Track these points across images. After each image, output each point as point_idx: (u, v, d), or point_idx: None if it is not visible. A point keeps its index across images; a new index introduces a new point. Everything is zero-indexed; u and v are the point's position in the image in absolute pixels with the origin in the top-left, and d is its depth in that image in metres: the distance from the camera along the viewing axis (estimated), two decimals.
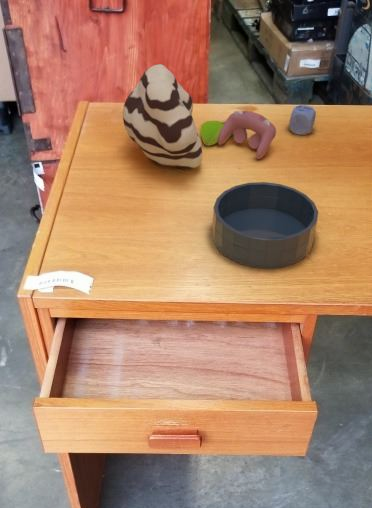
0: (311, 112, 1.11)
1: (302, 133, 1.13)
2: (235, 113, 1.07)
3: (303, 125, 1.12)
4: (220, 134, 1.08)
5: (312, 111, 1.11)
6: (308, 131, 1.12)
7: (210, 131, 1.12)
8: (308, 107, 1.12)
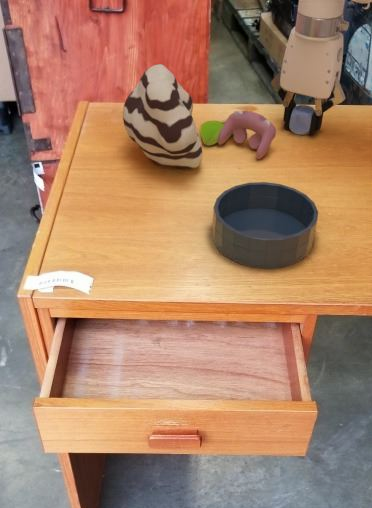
0: (311, 112, 1.11)
1: (302, 133, 1.13)
2: (235, 113, 1.07)
3: (303, 125, 1.12)
4: (220, 134, 1.08)
5: (312, 111, 1.11)
6: (308, 131, 1.12)
7: (210, 131, 1.12)
8: (308, 107, 1.12)
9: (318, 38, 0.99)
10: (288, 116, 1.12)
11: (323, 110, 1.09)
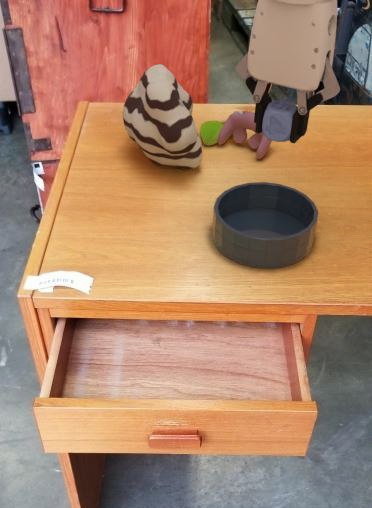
0: (292, 110, 0.78)
1: (279, 140, 0.80)
2: (235, 113, 1.07)
3: (281, 128, 0.79)
4: (220, 134, 1.08)
5: (294, 109, 0.79)
6: (288, 137, 0.80)
7: (210, 131, 1.12)
8: (288, 103, 0.80)
9: (299, 0, 0.67)
10: (260, 116, 0.80)
11: (309, 107, 0.76)
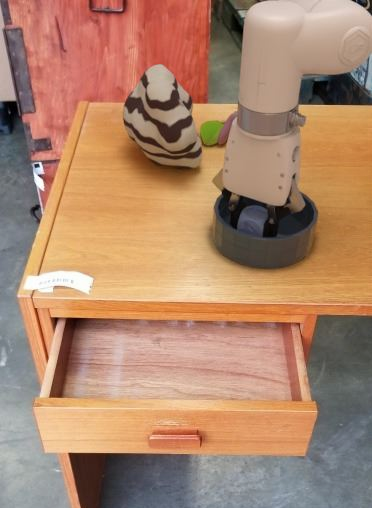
0: (264, 217, 0.86)
1: None
2: (235, 113, 1.07)
3: (254, 232, 0.87)
4: (220, 134, 1.08)
5: (265, 215, 0.86)
6: None
7: (210, 131, 1.12)
8: (261, 209, 0.87)
9: (265, 136, 0.74)
10: (235, 221, 0.88)
11: (278, 218, 0.84)
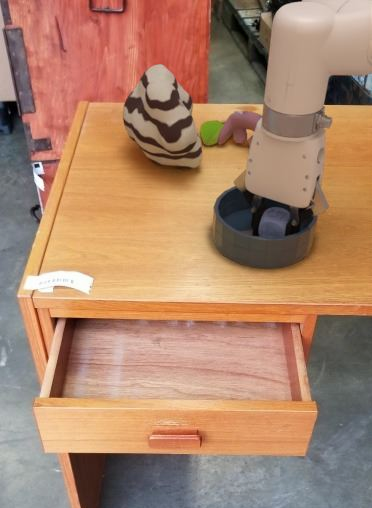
0: (286, 219, 0.86)
1: None
2: (235, 113, 1.07)
3: (276, 234, 0.87)
4: (220, 134, 1.08)
5: (287, 217, 0.86)
6: None
7: (210, 131, 1.12)
8: (283, 211, 0.87)
9: (291, 138, 0.74)
10: (257, 223, 0.88)
11: (300, 219, 0.84)
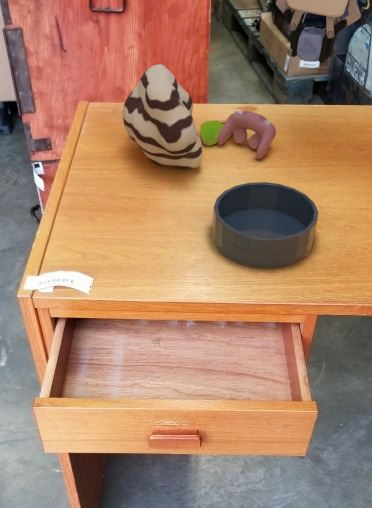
0: (322, 34, 0.97)
1: (311, 60, 1.00)
2: (235, 113, 1.07)
3: (313, 49, 0.99)
4: (220, 134, 1.08)
5: (323, 33, 0.98)
6: (318, 57, 0.99)
7: (210, 131, 1.12)
8: (319, 29, 0.99)
9: None
10: (296, 41, 0.99)
11: (335, 31, 0.96)
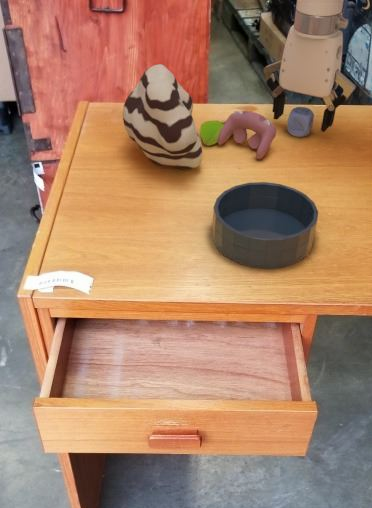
0: (309, 114, 1.10)
1: (299, 135, 1.12)
2: (235, 113, 1.07)
3: (301, 127, 1.11)
4: (220, 134, 1.08)
5: (310, 113, 1.10)
6: (306, 133, 1.12)
7: (210, 131, 1.12)
8: (306, 109, 1.11)
9: (317, 36, 0.98)
10: (277, 106, 1.11)
11: (335, 103, 1.06)
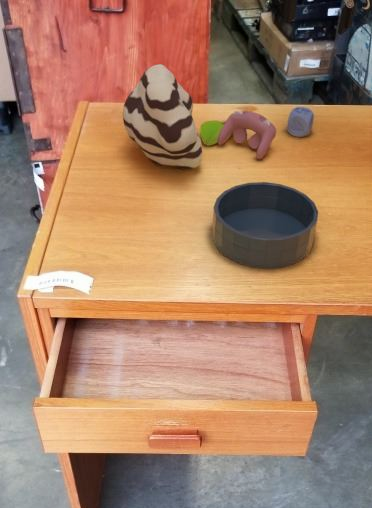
0: (309, 114, 1.10)
1: (299, 135, 1.12)
2: (235, 113, 1.07)
3: (301, 127, 1.11)
4: (220, 134, 1.08)
5: (310, 113, 1.10)
6: (306, 133, 1.12)
7: (210, 131, 1.12)
8: (306, 109, 1.11)
9: None
10: (289, 7, 0.99)
11: None
